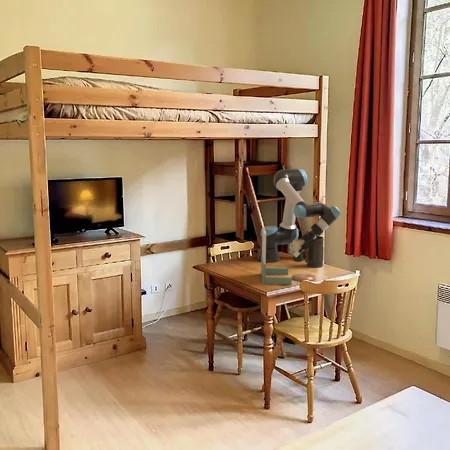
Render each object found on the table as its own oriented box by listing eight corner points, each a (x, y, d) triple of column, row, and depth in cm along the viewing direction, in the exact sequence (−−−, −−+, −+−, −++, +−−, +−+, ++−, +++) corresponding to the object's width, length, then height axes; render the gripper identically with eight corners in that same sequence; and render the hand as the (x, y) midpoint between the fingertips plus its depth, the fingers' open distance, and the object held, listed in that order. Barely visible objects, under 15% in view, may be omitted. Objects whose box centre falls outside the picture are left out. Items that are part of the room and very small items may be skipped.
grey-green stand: (287, 274, 330) (289, 227, 325) (291, 284, 307) (293, 234, 302) (261, 273, 331) (262, 226, 326) (262, 284, 307) (263, 233, 302)
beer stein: (313, 262, 361) (313, 234, 356) (327, 265, 353) (327, 236, 349) (300, 268, 350) (300, 238, 346) (313, 271, 342) (313, 241, 338)
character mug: (305, 260, 322) (305, 239, 319) (308, 262, 315) (309, 241, 312) (287, 260, 320) (288, 239, 318) (290, 263, 313) (291, 241, 311)
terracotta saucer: (287, 277, 322) (287, 275, 322) (304, 274, 330) (304, 272, 330) (303, 282, 311) (303, 280, 310) (320, 279, 318) (320, 277, 318)
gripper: (329, 234, 307) (301, 262, 307) (317, 228, 327) (291, 254, 327) (321, 225, 306) (293, 253, 306) (310, 220, 325) (283, 246, 325)
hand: (292, 254), depth 316 cm, fingers closed on character mug, 7 cm apart
